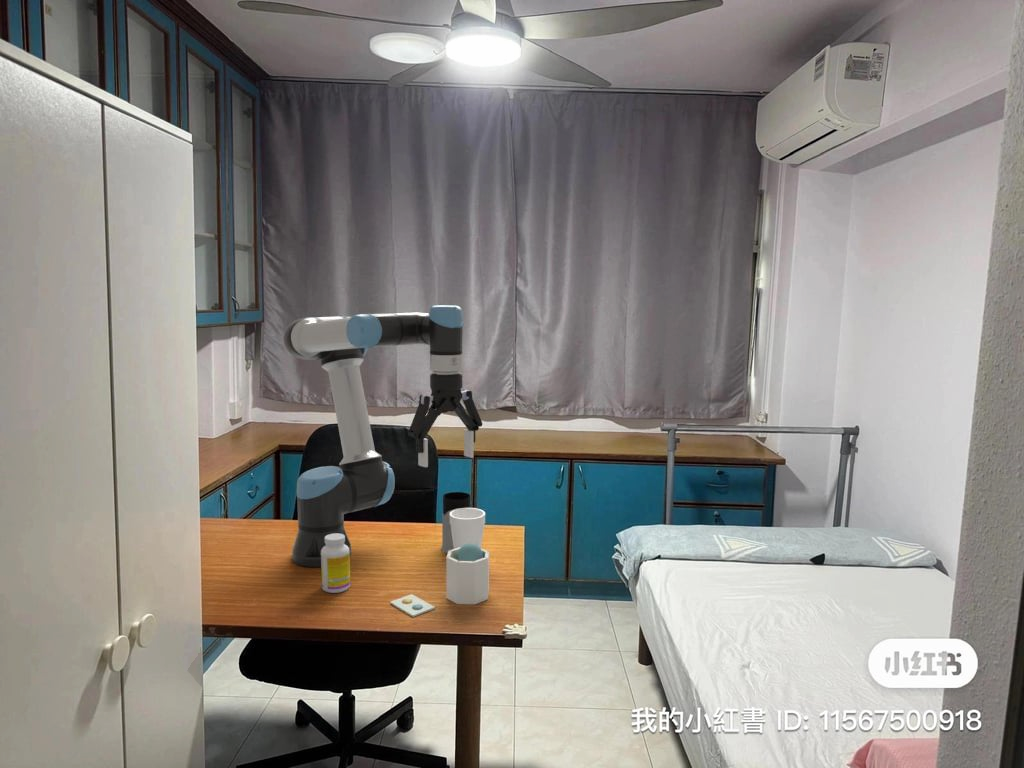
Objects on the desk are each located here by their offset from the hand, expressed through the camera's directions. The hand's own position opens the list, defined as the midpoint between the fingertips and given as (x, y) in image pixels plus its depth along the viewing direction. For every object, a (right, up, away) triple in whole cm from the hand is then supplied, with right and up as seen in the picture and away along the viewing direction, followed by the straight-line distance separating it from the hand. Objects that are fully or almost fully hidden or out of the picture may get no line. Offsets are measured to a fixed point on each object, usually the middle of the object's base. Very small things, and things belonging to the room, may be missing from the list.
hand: (446, 461), depth 168 cm
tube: (+5, -31, -1) cm, 32 cm away
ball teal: (+5, -24, -4) cm, 25 cm away
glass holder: (0, -27, +30) cm, 40 cm away
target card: (-7, -32, -7) cm, 34 cm away
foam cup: (+4, -29, +19) cm, 34 cm away
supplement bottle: (-27, -31, +2) cm, 41 cm away
